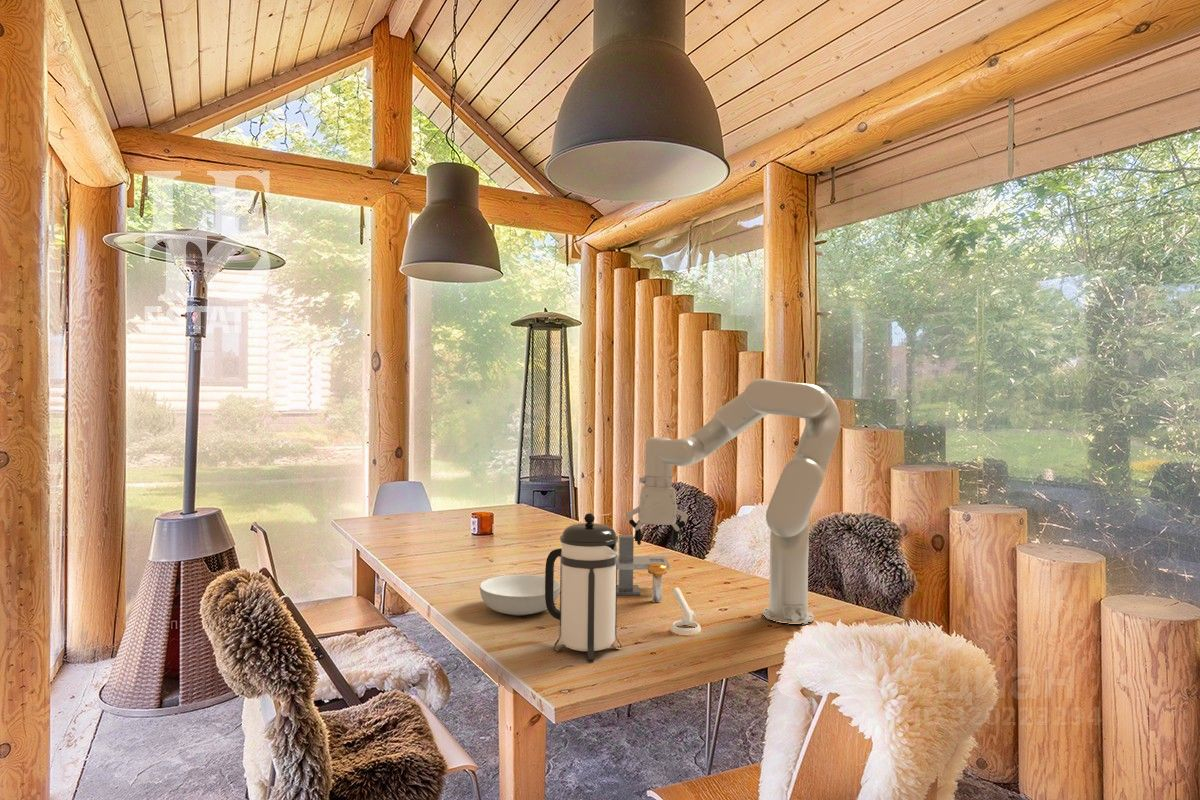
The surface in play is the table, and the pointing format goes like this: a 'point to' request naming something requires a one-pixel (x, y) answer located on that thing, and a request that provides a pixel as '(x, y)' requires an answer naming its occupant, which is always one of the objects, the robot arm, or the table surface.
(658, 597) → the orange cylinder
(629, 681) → the table surface
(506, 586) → the serving bowl
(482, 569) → the table surface
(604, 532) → the coffee press
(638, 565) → the grey cross bracket
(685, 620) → the white ring with handle
